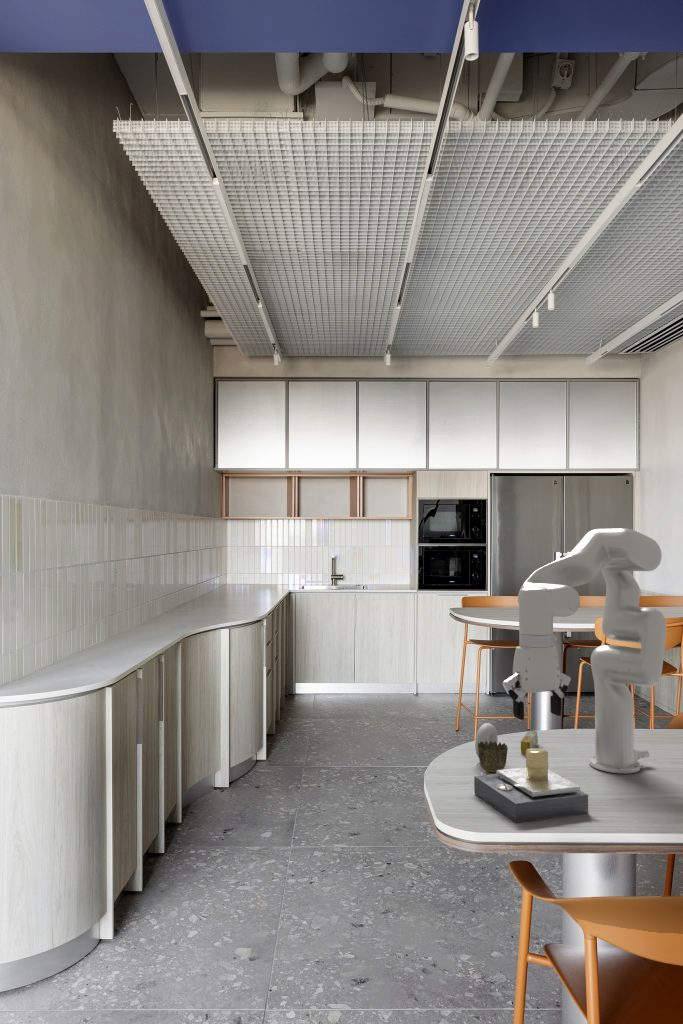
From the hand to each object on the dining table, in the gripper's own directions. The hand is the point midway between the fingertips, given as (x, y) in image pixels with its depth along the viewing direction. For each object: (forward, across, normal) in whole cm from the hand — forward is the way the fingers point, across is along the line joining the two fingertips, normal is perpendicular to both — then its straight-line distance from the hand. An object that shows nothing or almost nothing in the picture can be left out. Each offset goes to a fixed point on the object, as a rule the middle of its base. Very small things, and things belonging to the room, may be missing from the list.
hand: (537, 716), depth 161 cm
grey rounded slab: (+20, -3, -30) cm, 36 cm away
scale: (+19, +3, 0) cm, 19 cm away
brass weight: (+14, +1, 0) cm, 14 cm away
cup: (+20, +2, -18) cm, 26 cm away
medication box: (+20, -20, -36) cm, 46 cm away
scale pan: (+15, +1, 0) cm, 15 cm away
